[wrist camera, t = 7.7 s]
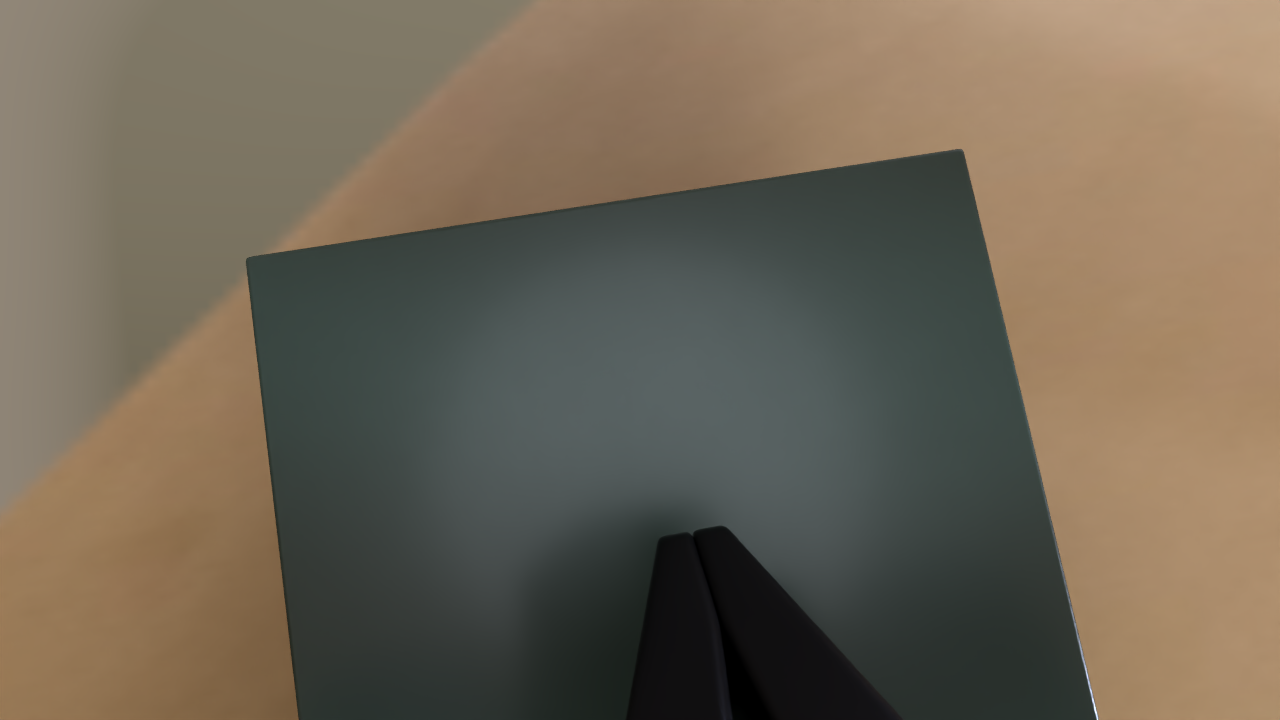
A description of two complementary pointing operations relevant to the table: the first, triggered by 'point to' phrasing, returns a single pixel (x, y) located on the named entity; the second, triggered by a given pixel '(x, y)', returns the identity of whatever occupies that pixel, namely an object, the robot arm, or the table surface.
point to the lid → (659, 447)
